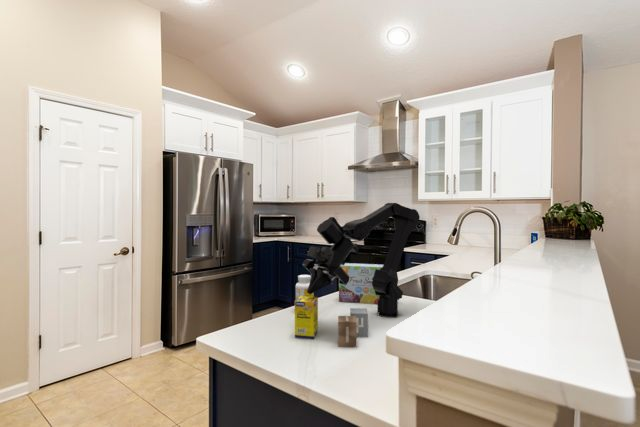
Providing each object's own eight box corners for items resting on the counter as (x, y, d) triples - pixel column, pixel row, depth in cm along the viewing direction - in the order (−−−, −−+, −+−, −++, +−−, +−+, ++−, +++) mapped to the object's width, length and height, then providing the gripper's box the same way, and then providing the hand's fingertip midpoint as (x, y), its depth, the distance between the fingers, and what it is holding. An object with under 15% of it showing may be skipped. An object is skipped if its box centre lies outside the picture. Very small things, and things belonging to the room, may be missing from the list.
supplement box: (314, 339, 101) (313, 302, 100) (294, 337, 102) (294, 301, 102) (318, 331, 107) (318, 296, 106) (299, 330, 108) (299, 295, 107)
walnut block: (355, 340, 100) (355, 315, 100) (356, 347, 95) (356, 321, 95) (338, 339, 100) (338, 315, 100) (338, 347, 95) (338, 321, 95)
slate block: (366, 330, 107) (366, 308, 107) (367, 337, 102) (367, 313, 102) (350, 330, 108) (350, 308, 107) (350, 337, 102) (350, 313, 102)
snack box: (338, 302, 138) (338, 264, 138) (340, 298, 144) (340, 262, 143) (392, 305, 133) (392, 266, 133) (393, 301, 139) (393, 264, 138)
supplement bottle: (316, 308, 130) (316, 274, 129) (310, 314, 123) (309, 278, 123) (299, 307, 132) (299, 273, 131) (292, 312, 126) (292, 277, 125)
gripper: (307, 234, 115) (277, 271, 109) (341, 239, 99) (308, 282, 93) (326, 256, 119) (299, 292, 113) (362, 264, 104) (332, 306, 98)
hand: (308, 293), depth 104 cm, fingers closed
